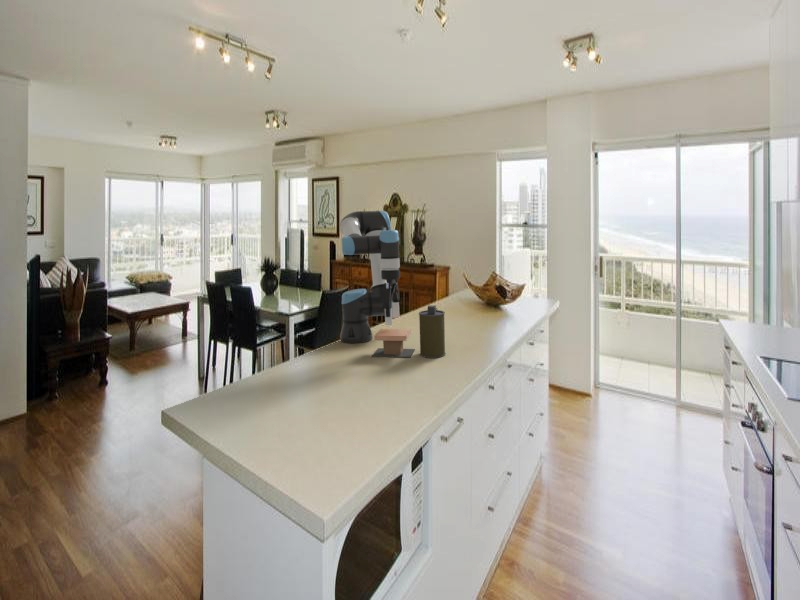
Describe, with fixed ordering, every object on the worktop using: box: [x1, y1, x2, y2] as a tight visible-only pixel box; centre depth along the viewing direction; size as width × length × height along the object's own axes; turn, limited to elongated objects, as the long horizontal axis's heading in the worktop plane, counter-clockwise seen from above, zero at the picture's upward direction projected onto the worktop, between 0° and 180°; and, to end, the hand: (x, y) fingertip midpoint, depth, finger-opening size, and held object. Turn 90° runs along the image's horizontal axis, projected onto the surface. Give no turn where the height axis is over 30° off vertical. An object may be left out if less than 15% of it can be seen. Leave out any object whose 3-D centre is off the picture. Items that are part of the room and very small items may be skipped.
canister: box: [418, 305, 446, 359], centre depth 174 cm, size 11×10×20 cm
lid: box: [373, 328, 412, 342], centre depth 177 cm, size 13×11×2 cm
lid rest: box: [371, 340, 416, 359], centre depth 178 cm, size 16×11×7 cm
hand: (392, 321), depth 175 cm, fingers open, 13 cm apart
